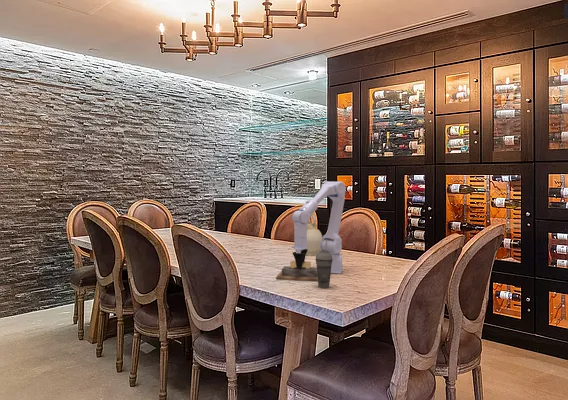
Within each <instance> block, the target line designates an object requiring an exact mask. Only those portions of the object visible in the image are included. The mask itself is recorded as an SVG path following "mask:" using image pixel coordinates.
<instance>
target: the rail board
mask: <svg viewBox="0 0 568 400" xmlns="http://www.w3.org/2000/svg"><path fill="white" fill-rule="evenodd" d="M275 280H280V281H299V282H300V281H301V282H302V281H303V282H318V278H317V267H314V266H313V267H312V266H311V270H306V267H302V268H297V267H296V269H290V266H285V265H284V266H283V267H282V268H281V270H280V272H279V273H278V274H277V276H276V277H275Z"/></svg>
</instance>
